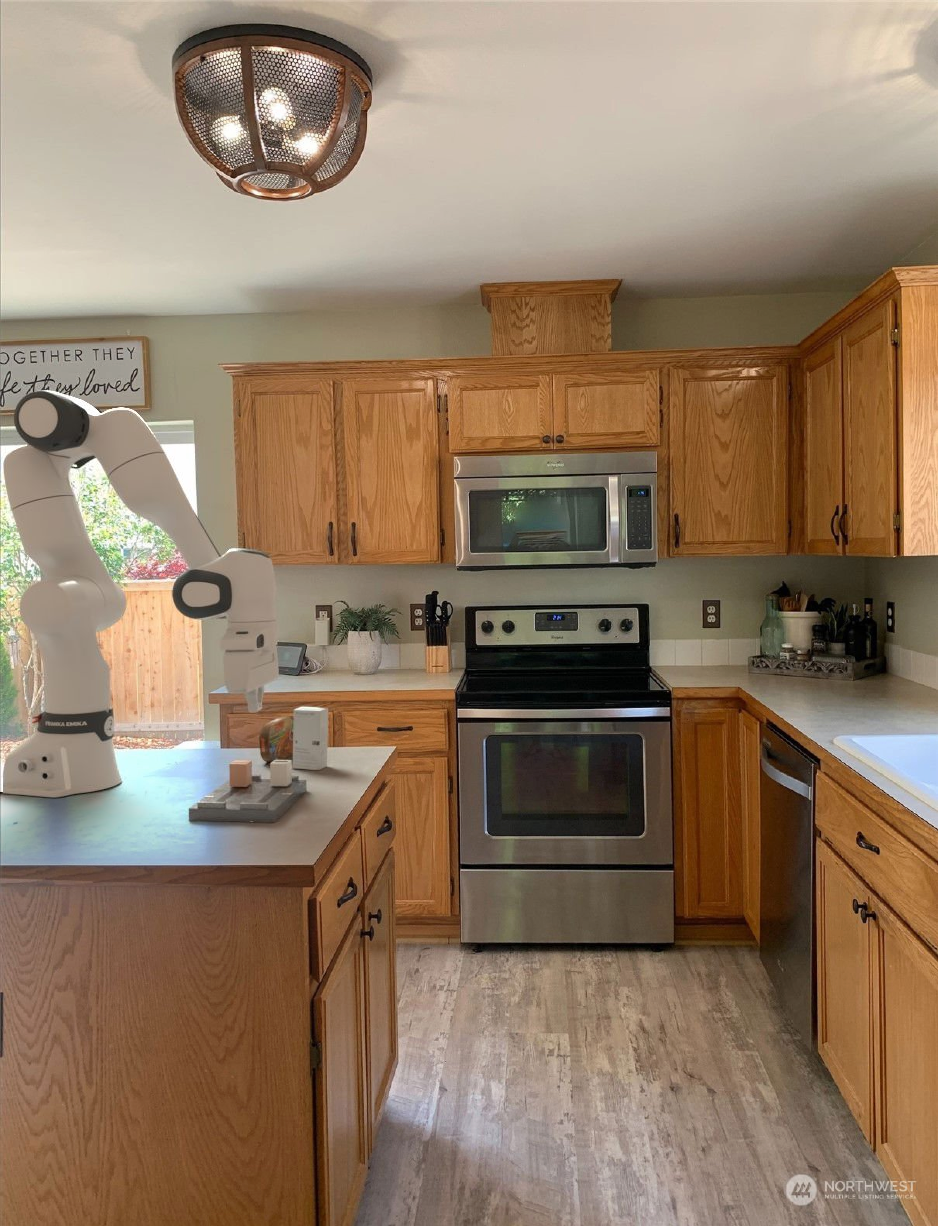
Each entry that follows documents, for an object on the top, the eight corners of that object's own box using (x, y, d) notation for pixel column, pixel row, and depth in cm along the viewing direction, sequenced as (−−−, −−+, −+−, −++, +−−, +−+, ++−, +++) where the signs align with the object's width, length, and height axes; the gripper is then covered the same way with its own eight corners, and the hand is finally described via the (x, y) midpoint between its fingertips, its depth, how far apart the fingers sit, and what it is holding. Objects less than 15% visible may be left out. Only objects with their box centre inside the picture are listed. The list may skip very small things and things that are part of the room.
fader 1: (229, 786, 157) (229, 763, 157) (235, 782, 160) (235, 759, 160) (246, 786, 157) (246, 763, 157) (251, 782, 160) (251, 759, 160)
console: (188, 820, 144) (188, 803, 144) (231, 789, 164) (231, 773, 164) (274, 822, 143) (273, 805, 143) (306, 790, 163) (306, 775, 163)
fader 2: (270, 785, 158) (270, 762, 158) (275, 781, 161) (275, 759, 161) (287, 786, 158) (286, 763, 157) (291, 782, 161) (291, 759, 160)
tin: (271, 766, 183) (270, 725, 182) (256, 765, 183) (256, 725, 183) (299, 751, 197) (299, 713, 197) (286, 750, 198) (285, 712, 198)
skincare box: (291, 769, 180) (291, 709, 180) (301, 764, 185) (300, 705, 184) (320, 770, 179) (319, 710, 178) (329, 765, 183) (328, 707, 182)
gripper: (253, 632, 175) (256, 702, 176) (216, 641, 154) (219, 721, 155) (285, 631, 174) (287, 702, 175) (251, 641, 154) (254, 720, 155)
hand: (255, 711), depth 165 cm, fingers closed
